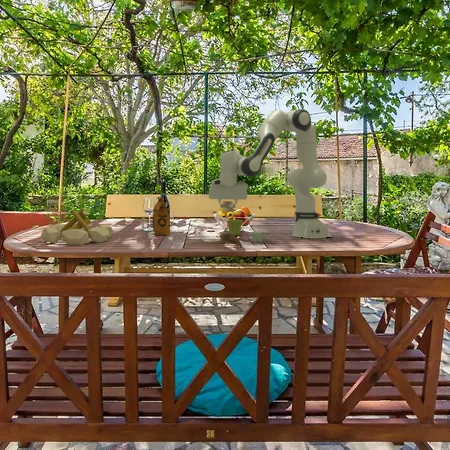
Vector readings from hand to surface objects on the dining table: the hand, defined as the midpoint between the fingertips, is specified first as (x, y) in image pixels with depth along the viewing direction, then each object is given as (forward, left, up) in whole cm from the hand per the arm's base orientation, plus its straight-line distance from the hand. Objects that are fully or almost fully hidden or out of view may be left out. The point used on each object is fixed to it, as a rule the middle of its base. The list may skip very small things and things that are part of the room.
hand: (227, 207), depth 215 cm
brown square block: (0, 0, -18) cm, 18 cm away
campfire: (+79, -5, -18) cm, 81 cm away
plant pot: (-6, -22, -18) cm, 29 cm away
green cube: (-16, 0, -18) cm, 24 cm away
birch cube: (0, 0, -2) cm, 2 cm away
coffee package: (+37, -26, -18) cm, 48 cm away
